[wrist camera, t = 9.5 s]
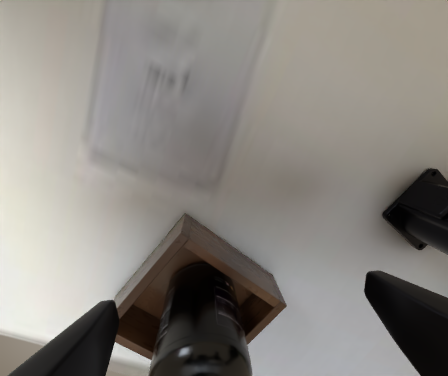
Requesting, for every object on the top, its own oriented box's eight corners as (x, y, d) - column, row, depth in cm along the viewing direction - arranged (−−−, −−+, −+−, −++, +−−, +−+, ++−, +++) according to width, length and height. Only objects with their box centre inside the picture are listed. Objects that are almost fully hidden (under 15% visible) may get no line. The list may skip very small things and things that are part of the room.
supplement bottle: (195, 327, 23) (185, 525, 12) (153, 285, 21) (92, 470, 10) (248, 293, 23) (293, 465, 11) (209, 247, 21) (215, 395, 9)
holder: (273, 275, 23) (287, 306, 19) (204, 345, 25) (204, 387, 21) (185, 212, 20) (180, 233, 16) (115, 296, 22) (96, 333, 18)
